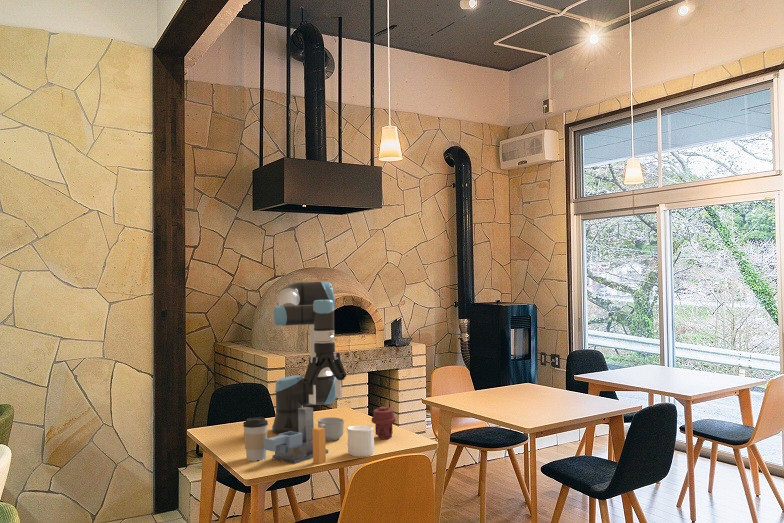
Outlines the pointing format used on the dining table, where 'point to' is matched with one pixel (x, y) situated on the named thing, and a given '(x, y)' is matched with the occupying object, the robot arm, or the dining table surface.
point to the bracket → (283, 441)
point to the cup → (360, 440)
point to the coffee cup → (255, 438)
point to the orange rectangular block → (319, 445)
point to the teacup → (332, 427)
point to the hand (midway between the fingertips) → (325, 400)
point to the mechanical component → (383, 422)
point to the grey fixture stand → (306, 448)
